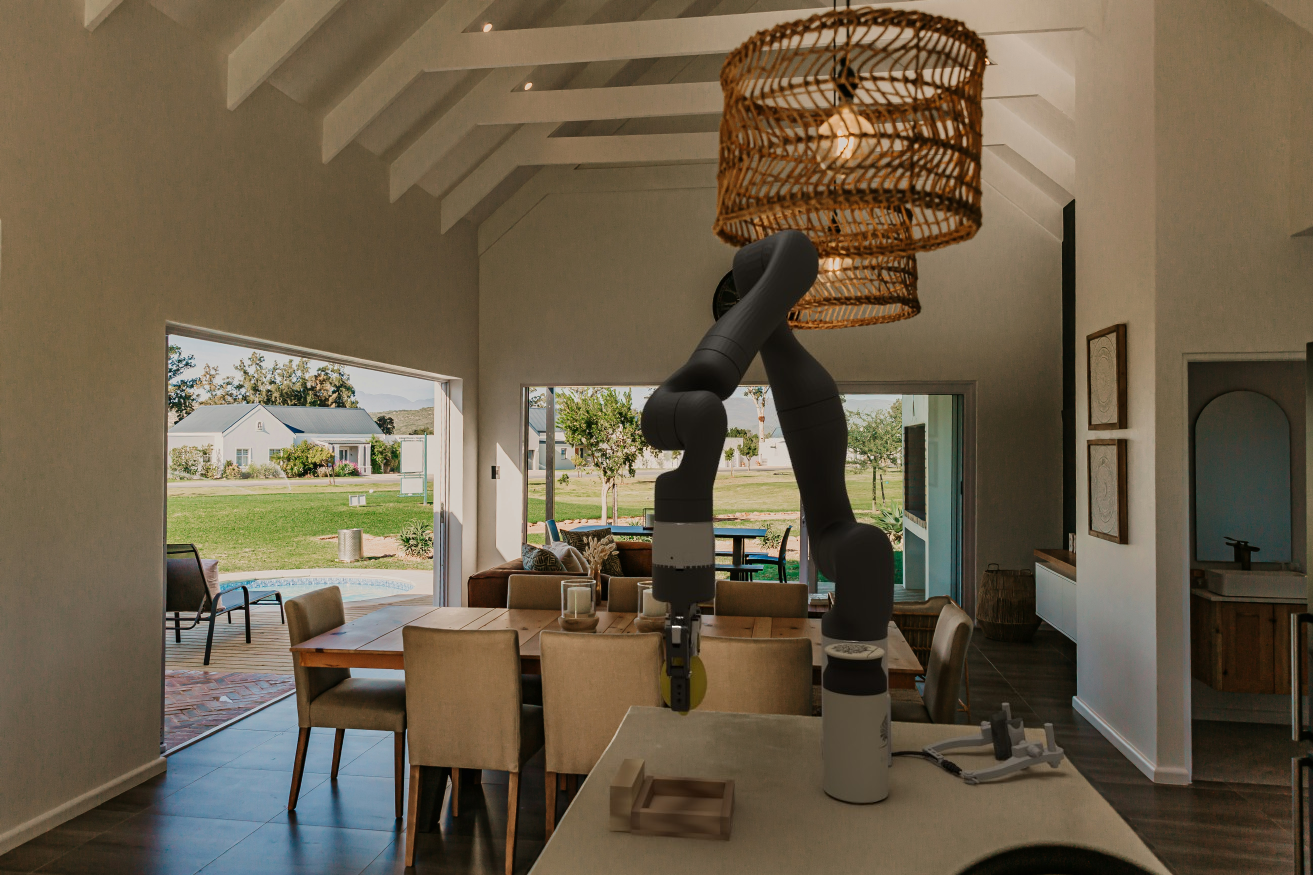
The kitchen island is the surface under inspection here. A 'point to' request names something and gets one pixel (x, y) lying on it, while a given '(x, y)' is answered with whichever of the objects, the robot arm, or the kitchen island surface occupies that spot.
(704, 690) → the lemon
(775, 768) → the kitchen island surface
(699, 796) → the walnut tray
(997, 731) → the bike brake
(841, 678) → the travel mug
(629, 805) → the oak stop
